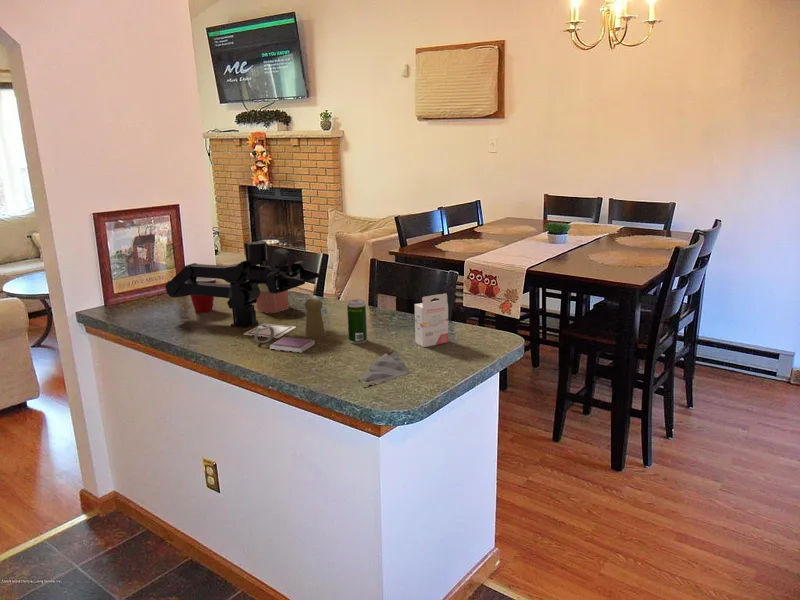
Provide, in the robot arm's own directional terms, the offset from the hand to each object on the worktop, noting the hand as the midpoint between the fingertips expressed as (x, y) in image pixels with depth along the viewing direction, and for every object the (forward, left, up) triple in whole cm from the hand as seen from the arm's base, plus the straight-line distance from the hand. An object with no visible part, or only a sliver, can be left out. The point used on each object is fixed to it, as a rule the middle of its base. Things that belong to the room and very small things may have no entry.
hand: (312, 278), depth 189 cm
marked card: (-13, -4, -17) cm, 22 cm away
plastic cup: (-48, +10, -17) cm, 52 cm away
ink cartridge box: (+38, 0, -17) cm, 41 cm away
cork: (+2, -3, -17) cm, 17 cm away
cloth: (+33, -24, -17) cm, 44 cm away
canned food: (-26, +19, -17) cm, 37 cm away
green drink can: (+17, -5, -17) cm, 24 cm away
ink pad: (+1, -15, -17) cm, 22 cm away
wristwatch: (-9, -14, -17) cm, 24 cm away
